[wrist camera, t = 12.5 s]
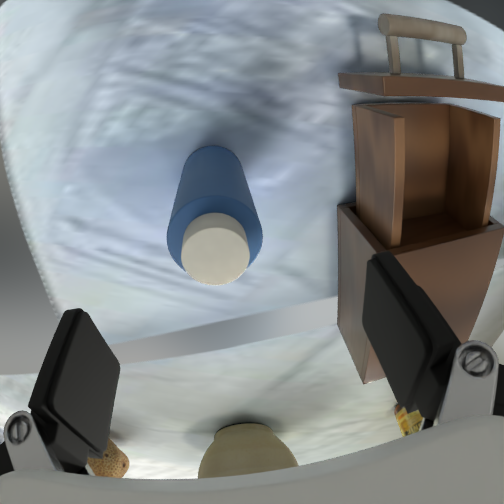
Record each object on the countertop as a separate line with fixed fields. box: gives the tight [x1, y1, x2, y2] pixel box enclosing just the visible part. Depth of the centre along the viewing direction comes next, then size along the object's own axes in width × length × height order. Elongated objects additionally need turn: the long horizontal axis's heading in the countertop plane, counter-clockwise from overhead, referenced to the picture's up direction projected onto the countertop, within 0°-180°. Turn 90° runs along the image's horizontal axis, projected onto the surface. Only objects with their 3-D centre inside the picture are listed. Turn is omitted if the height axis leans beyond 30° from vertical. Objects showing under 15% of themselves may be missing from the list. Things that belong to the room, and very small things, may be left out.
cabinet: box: [337, 202, 504, 384], centre depth 27 cm, size 15×13×9 cm
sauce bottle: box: [395, 404, 423, 437], centre depth 41 cm, size 6×6×20 cm
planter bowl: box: [198, 423, 299, 479], centre depth 42 cm, size 16×16×11 cm
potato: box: [87, 438, 129, 478], centre depth 40 cm, size 9×9×10 cm
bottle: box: [167, 146, 263, 285], centre depth 19 cm, size 5×5×12 cm
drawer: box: [338, 14, 504, 250], centre depth 20 cm, size 18×11×7 cm, turn 8°
